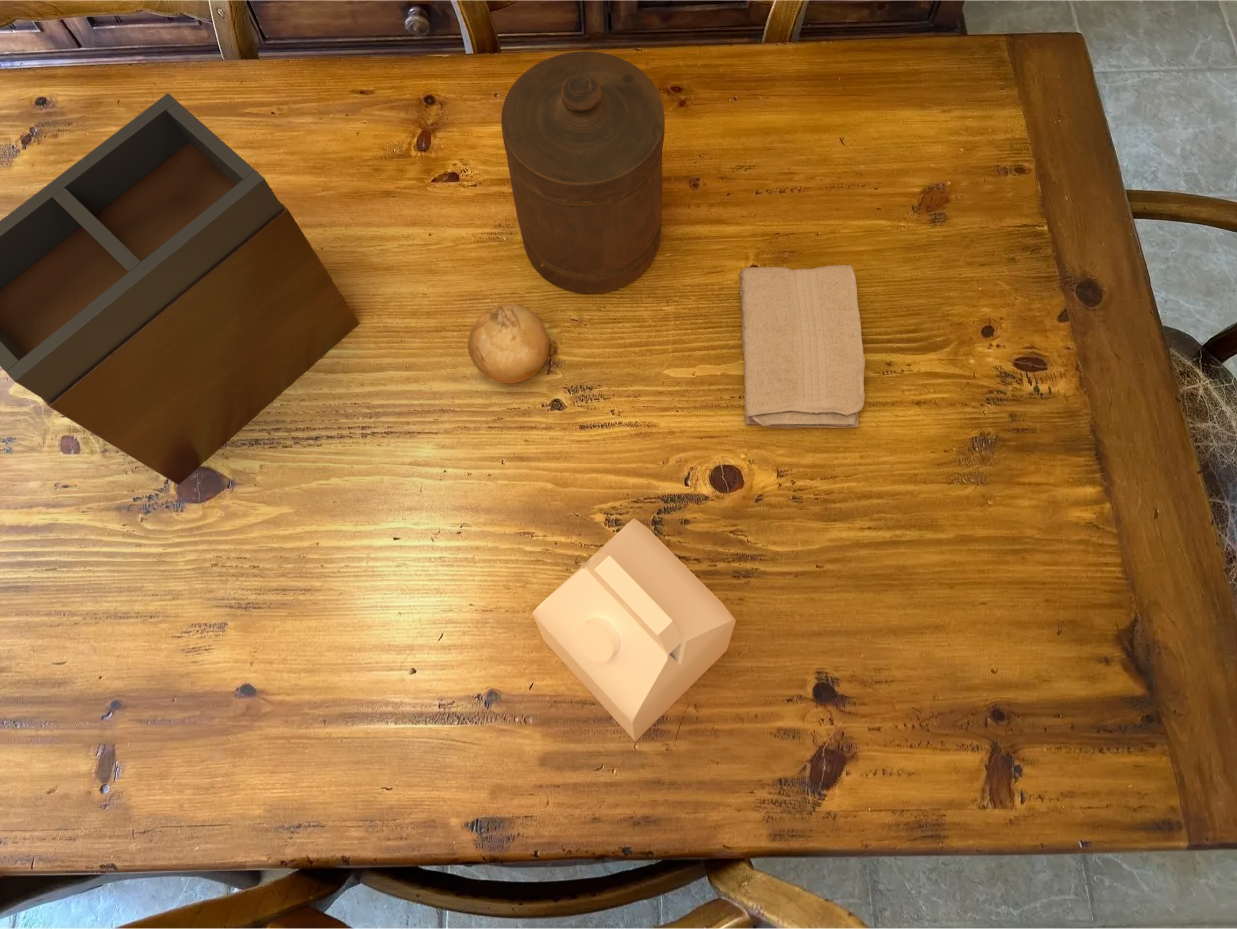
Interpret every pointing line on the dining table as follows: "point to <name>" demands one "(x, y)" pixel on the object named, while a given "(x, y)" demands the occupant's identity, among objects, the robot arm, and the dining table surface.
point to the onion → (508, 343)
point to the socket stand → (183, 322)
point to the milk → (635, 627)
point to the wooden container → (586, 169)
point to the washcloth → (802, 347)
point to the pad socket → (147, 283)
